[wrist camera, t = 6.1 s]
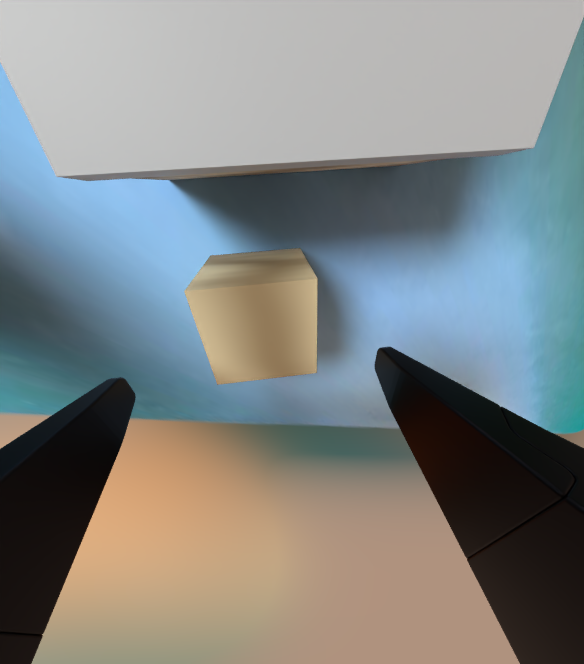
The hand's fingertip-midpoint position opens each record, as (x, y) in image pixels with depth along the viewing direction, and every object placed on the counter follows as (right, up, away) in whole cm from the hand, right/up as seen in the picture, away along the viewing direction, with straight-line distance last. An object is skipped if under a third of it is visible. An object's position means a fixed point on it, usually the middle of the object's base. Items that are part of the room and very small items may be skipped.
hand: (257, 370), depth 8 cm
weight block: (-1, +4, +6) cm, 7 cm away
